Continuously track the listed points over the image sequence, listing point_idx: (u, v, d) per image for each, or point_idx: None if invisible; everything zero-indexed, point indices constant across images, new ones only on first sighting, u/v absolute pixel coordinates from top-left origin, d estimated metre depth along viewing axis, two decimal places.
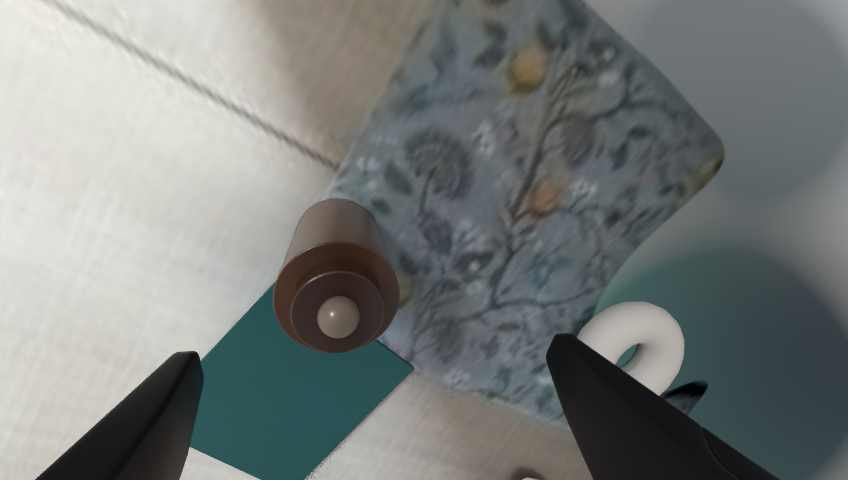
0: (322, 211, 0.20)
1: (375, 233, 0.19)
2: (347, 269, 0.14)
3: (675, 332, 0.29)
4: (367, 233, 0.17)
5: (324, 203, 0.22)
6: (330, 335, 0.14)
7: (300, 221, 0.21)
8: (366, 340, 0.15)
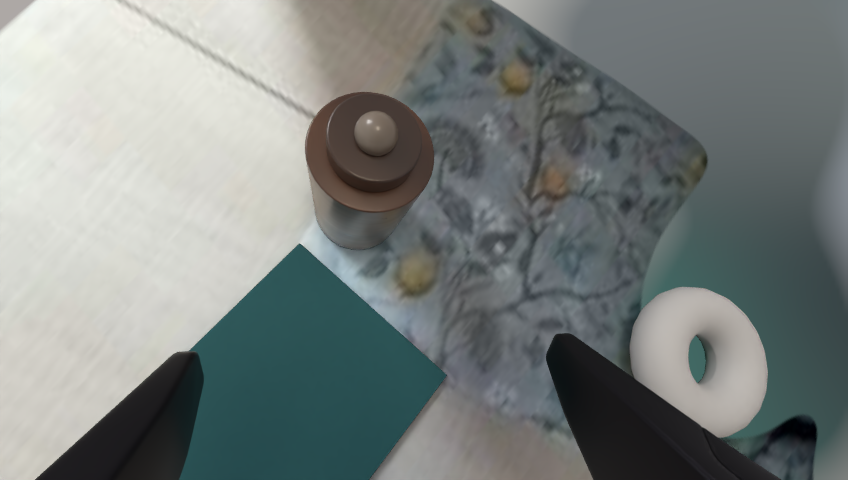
0: None
1: None
2: None
3: (739, 312, 0.25)
4: None
5: None
6: (369, 136, 0.13)
7: None
8: (404, 170, 0.14)
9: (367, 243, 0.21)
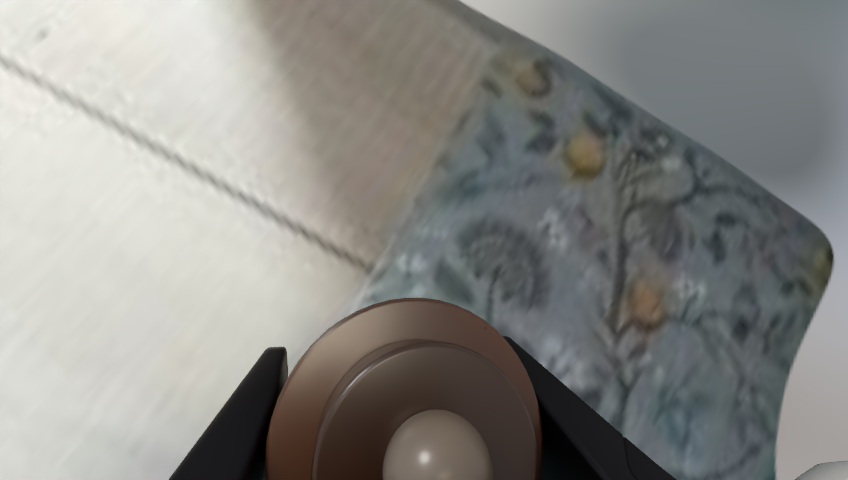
0: None
1: None
2: None
3: None
4: None
5: None
6: None
7: None
8: None
9: None
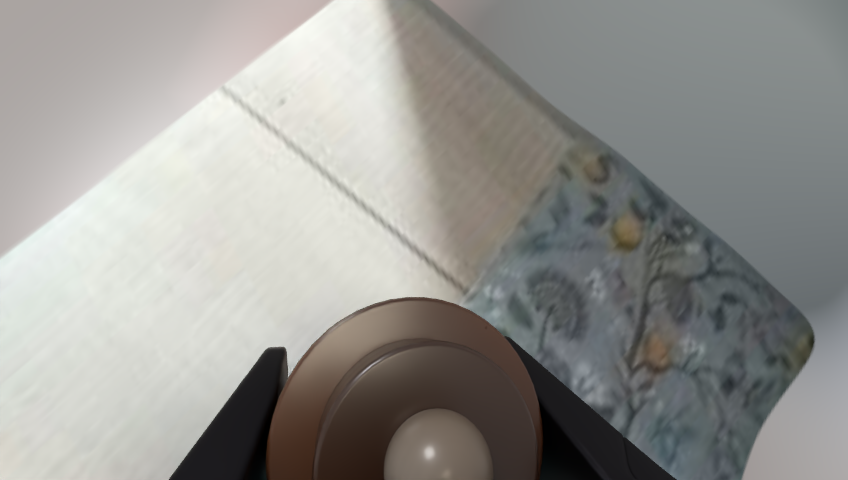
0: None
1: None
2: None
3: None
4: None
5: None
6: None
7: None
8: None
9: None
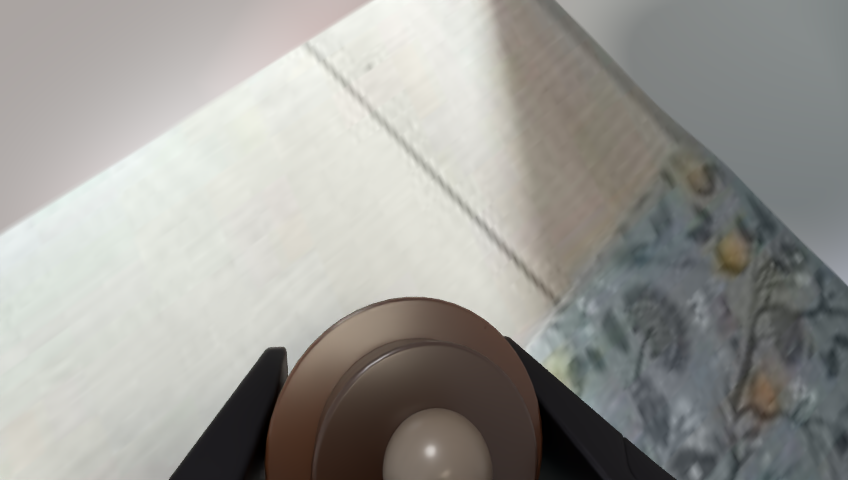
0: None
1: None
2: None
3: None
4: None
5: None
6: None
7: None
8: None
9: None
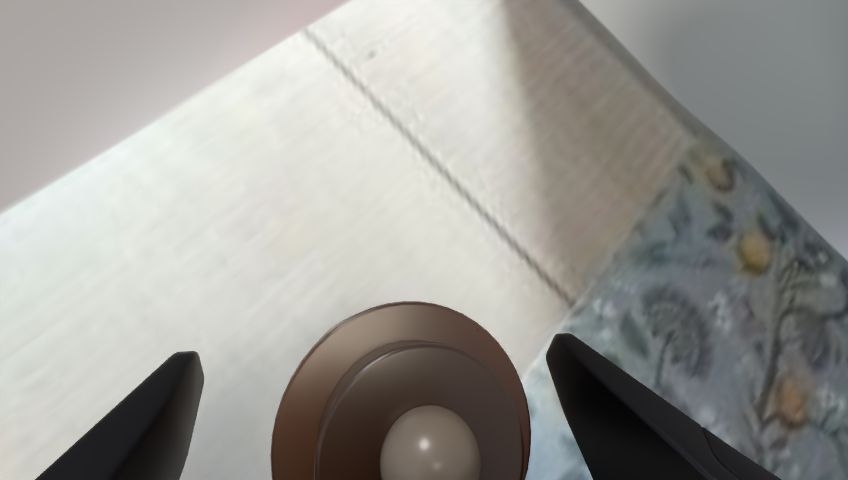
0: None
1: None
2: None
3: None
4: None
5: None
6: None
7: None
8: None
9: None
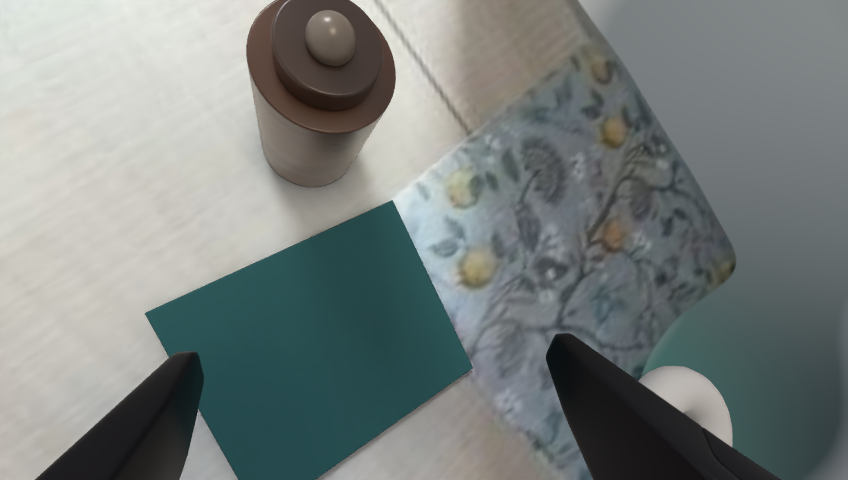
0: None
1: None
2: None
3: (725, 406, 0.28)
4: None
5: None
6: (321, 38, 0.11)
7: None
8: (359, 88, 0.12)
9: (315, 179, 0.19)
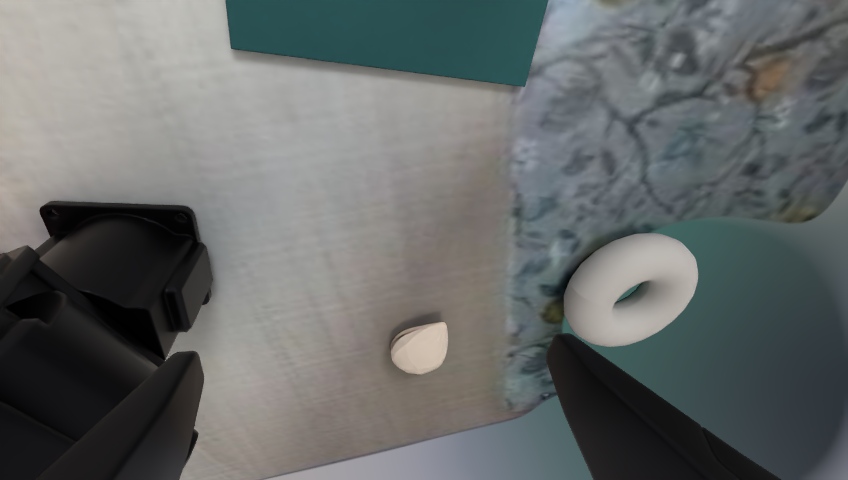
0: None
1: None
2: None
3: (687, 302, 0.27)
4: None
5: None
6: None
7: None
8: None
9: None
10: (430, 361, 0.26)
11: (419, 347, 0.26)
